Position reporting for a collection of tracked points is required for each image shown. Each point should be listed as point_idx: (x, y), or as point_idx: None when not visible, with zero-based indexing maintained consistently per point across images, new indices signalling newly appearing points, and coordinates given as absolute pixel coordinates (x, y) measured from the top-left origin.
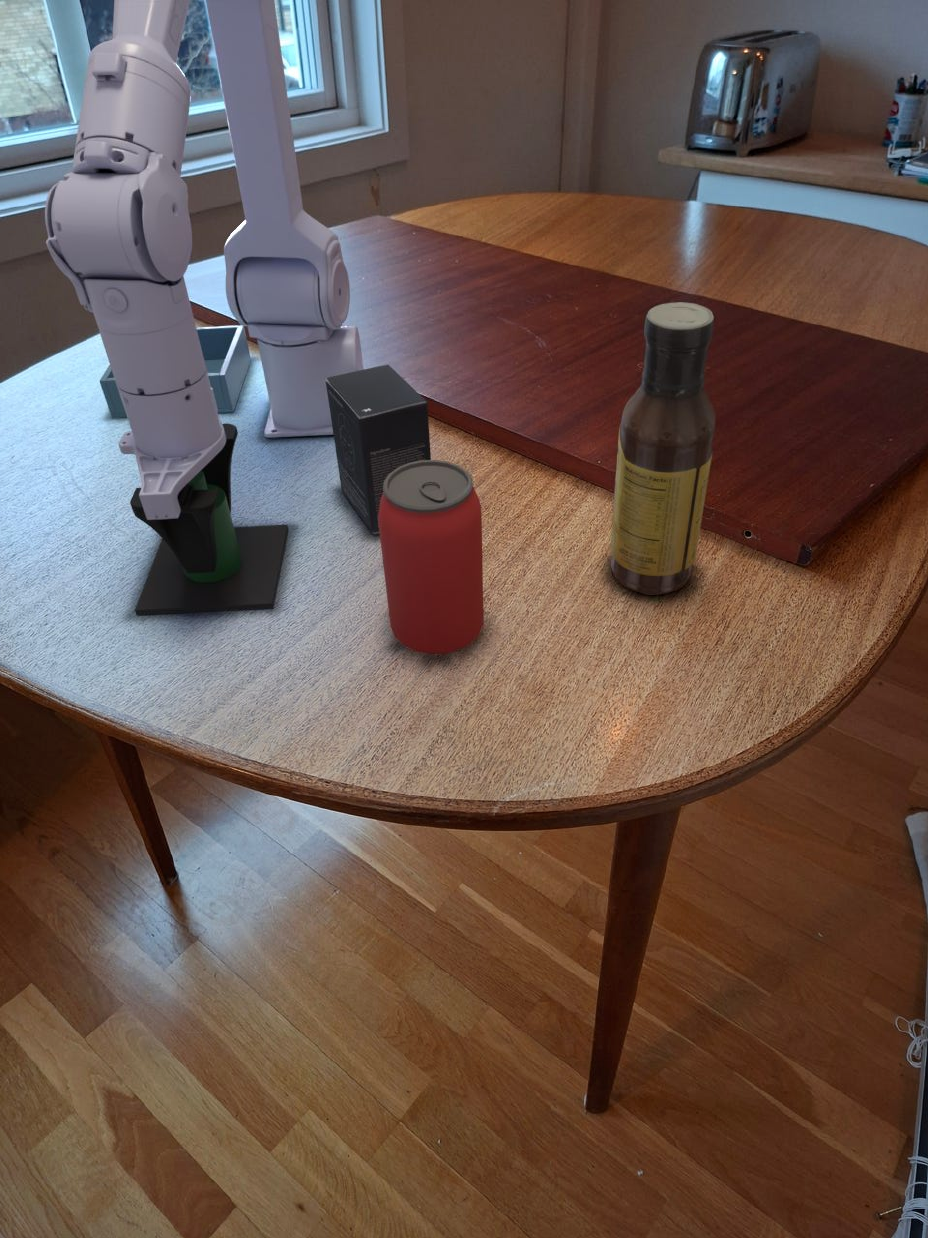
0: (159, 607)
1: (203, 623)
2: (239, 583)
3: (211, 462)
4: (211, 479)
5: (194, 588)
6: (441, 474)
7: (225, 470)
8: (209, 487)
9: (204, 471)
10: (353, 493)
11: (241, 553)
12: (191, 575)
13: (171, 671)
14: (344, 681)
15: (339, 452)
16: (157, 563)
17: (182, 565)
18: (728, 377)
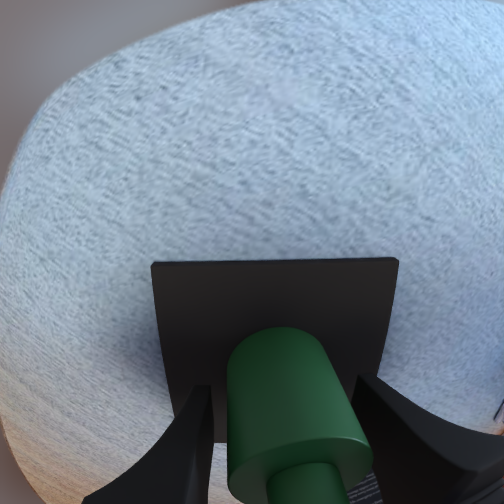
0: (158, 308)
1: (142, 366)
2: (223, 409)
3: (399, 501)
4: (387, 467)
5: (213, 353)
6: None
7: (384, 497)
8: (346, 485)
9: (399, 474)
10: (372, 487)
11: None
12: (234, 355)
13: (51, 336)
14: (89, 469)
15: None
16: (296, 274)
17: (188, 395)
18: None
